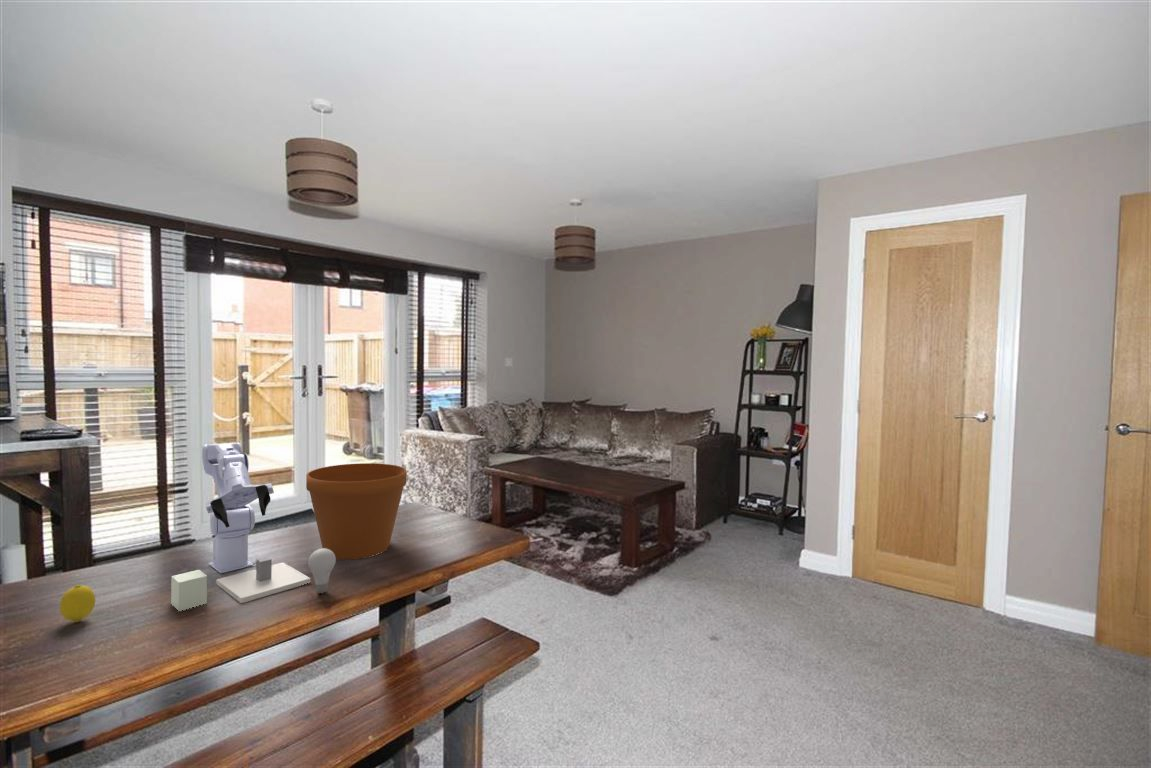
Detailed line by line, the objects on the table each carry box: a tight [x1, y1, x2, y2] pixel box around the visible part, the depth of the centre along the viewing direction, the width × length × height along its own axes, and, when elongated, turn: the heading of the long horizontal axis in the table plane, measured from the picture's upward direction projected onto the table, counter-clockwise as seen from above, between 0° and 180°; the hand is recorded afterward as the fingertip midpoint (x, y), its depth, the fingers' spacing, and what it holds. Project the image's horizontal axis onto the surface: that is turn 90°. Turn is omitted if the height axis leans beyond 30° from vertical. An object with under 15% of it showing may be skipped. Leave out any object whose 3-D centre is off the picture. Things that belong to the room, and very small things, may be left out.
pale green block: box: [170, 569, 208, 612], centre depth 124 cm, size 5×5×7 cm
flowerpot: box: [305, 462, 408, 561], centre depth 163 cm, size 28×28×24 cm
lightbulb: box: [307, 548, 337, 594], centre depth 132 cm, size 6×6×11 cm
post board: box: [215, 556, 311, 604], centre depth 137 cm, size 16×16×6 cm
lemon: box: [59, 584, 96, 623], centre depth 115 cm, size 6×6×8 cm
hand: (245, 518), depth 130 cm, fingers open, 7 cm apart
